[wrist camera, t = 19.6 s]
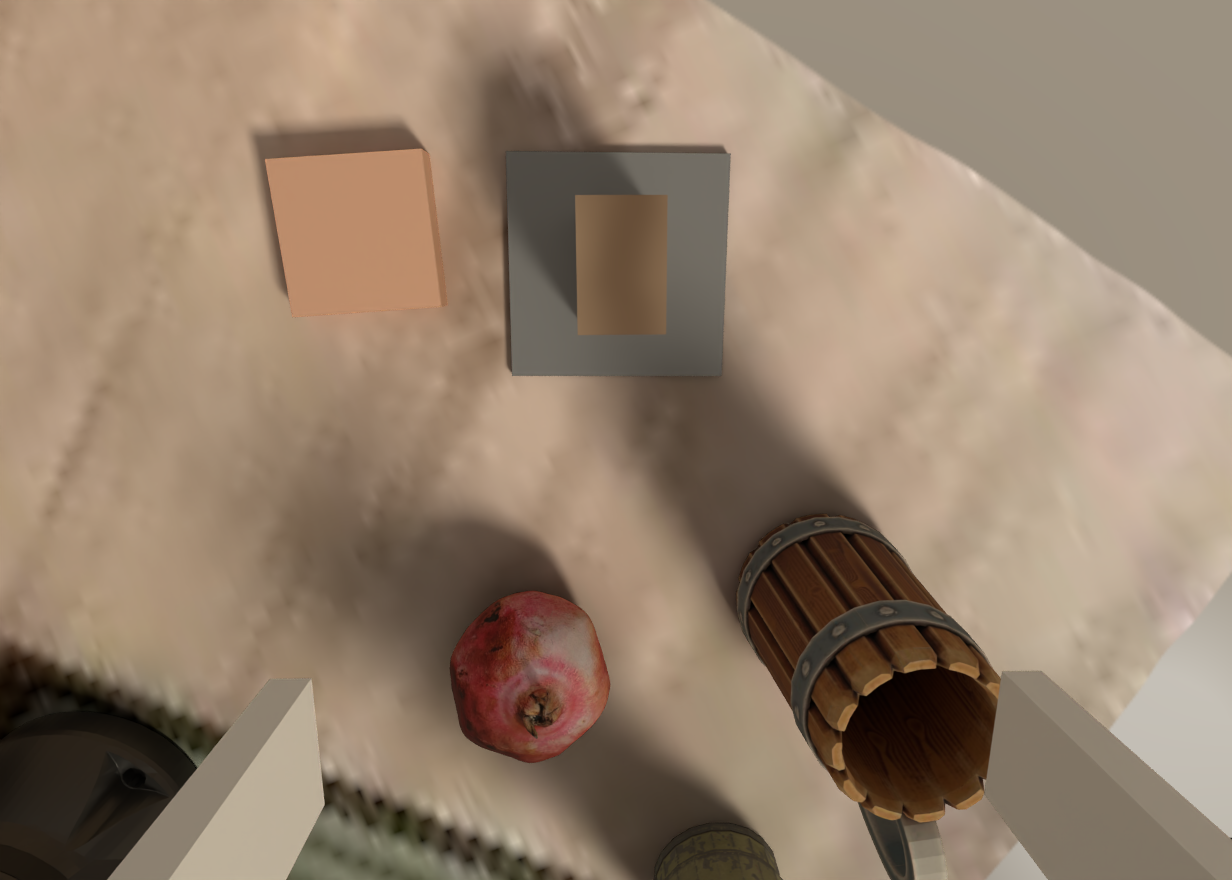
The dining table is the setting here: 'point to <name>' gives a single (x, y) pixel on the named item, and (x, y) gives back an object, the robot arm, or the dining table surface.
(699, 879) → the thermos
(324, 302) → the tile
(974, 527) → the dining table surface
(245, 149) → the dining table surface
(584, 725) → the fruit
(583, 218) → the push block
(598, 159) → the coaster
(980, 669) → the mug
